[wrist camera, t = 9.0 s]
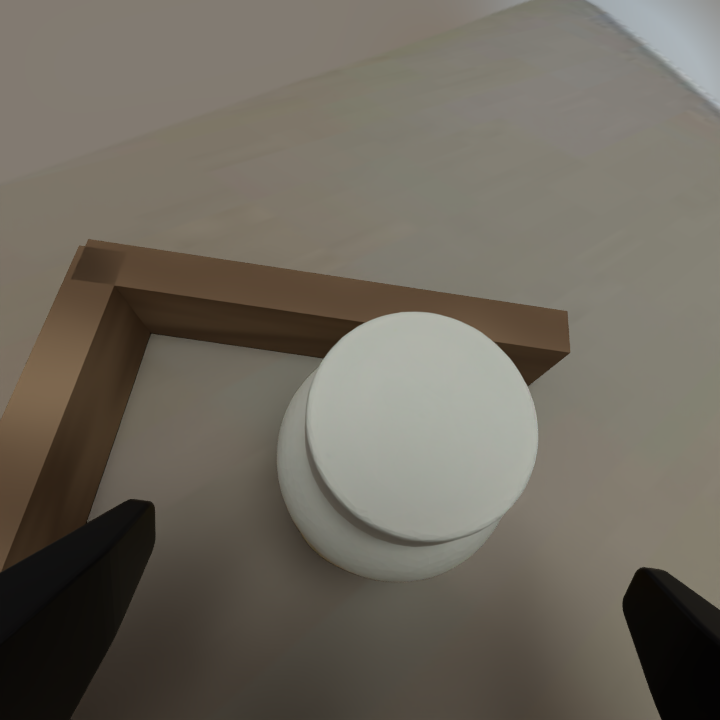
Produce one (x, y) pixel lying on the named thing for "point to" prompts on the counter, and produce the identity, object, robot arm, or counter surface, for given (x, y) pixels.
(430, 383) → the supplement bottle
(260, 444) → the counter surface
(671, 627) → the robot arm
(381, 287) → the walnut corner walls
